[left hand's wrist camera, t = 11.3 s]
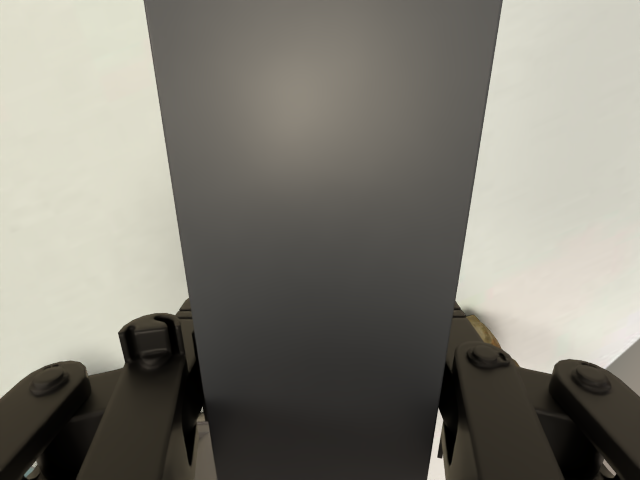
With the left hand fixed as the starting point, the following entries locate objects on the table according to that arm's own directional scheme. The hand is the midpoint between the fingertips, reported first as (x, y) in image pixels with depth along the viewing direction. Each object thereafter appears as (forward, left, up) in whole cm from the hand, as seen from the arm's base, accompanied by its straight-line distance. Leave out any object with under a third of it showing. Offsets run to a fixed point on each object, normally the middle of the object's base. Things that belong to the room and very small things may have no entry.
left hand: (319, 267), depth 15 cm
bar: (+9, +5, -1) cm, 11 cm away
